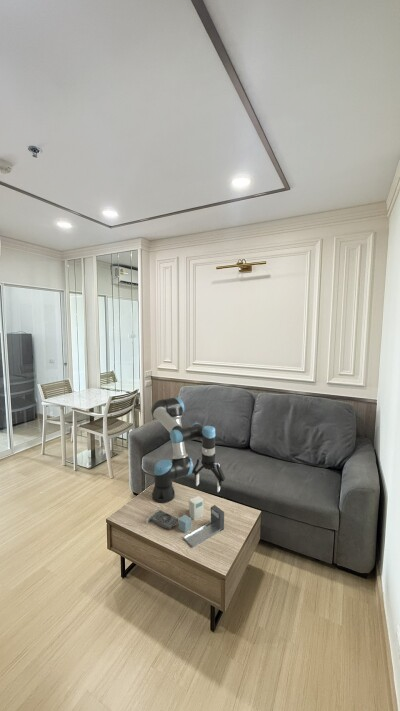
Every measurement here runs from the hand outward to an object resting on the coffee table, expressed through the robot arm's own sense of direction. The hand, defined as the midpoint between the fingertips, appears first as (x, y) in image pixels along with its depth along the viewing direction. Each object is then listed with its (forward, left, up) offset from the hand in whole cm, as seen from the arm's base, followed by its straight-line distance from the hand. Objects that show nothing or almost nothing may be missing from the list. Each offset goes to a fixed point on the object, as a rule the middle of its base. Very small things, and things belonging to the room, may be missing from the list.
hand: (207, 487), depth 168 cm
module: (-7, -3, -20) cm, 21 cm away
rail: (+8, -9, -20) cm, 23 cm away
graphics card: (-14, -23, -21) cm, 34 cm away
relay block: (-2, -15, -20) cm, 25 cm away
